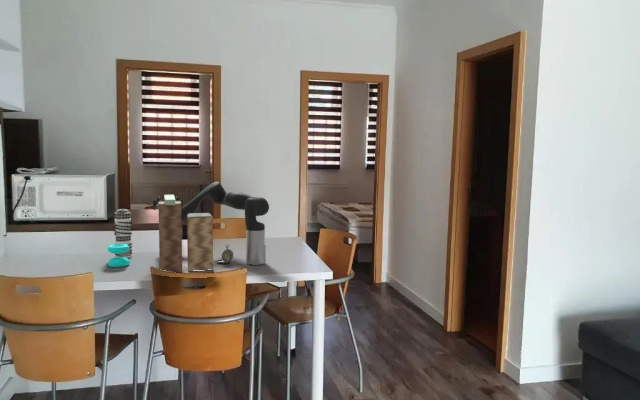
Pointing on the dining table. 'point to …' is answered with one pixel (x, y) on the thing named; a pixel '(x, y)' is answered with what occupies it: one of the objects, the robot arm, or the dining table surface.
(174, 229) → the walnut stand
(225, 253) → the pocket watch
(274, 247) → the dining table surface
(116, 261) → the donuts
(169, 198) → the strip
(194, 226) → the oak block
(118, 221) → the decorative candle
